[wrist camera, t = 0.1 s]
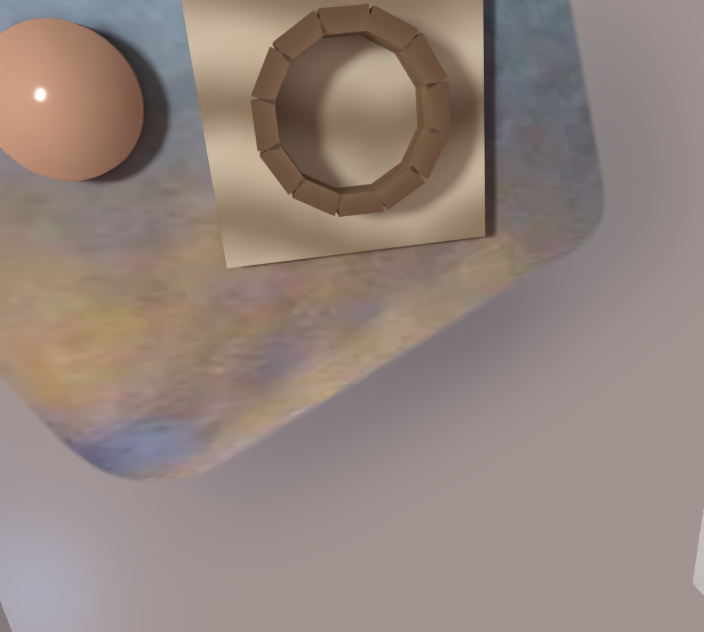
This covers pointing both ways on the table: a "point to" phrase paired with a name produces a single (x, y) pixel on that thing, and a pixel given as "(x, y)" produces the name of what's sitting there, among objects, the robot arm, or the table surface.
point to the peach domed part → (66, 100)
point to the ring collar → (340, 123)
